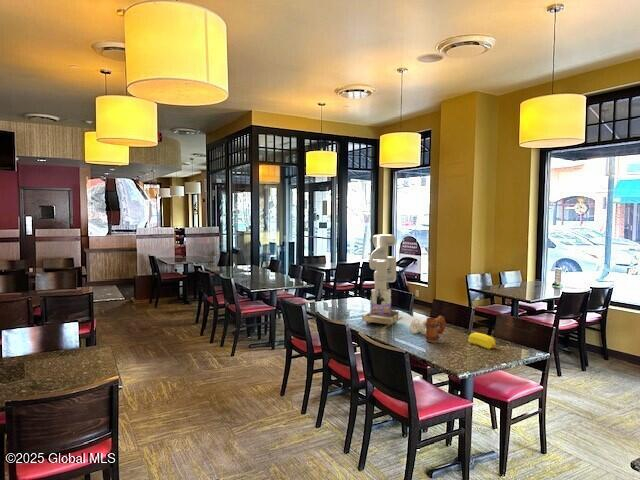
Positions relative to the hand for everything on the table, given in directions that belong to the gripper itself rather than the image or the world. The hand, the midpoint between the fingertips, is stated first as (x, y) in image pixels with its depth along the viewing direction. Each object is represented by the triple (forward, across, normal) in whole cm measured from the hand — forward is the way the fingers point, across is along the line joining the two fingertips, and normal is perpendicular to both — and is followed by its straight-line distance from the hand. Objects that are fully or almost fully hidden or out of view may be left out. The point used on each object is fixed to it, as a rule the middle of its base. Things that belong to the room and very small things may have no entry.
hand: (381, 303), depth 307 cm
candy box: (+7, 0, 0) cm, 7 cm away
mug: (+14, +24, +44) cm, 52 cm away
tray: (+13, +1, 0) cm, 13 cm away
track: (+14, -5, 0) cm, 15 cm away
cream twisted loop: (+14, +12, +30) cm, 35 cm away
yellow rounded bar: (+15, +18, +70) cm, 74 cm away
